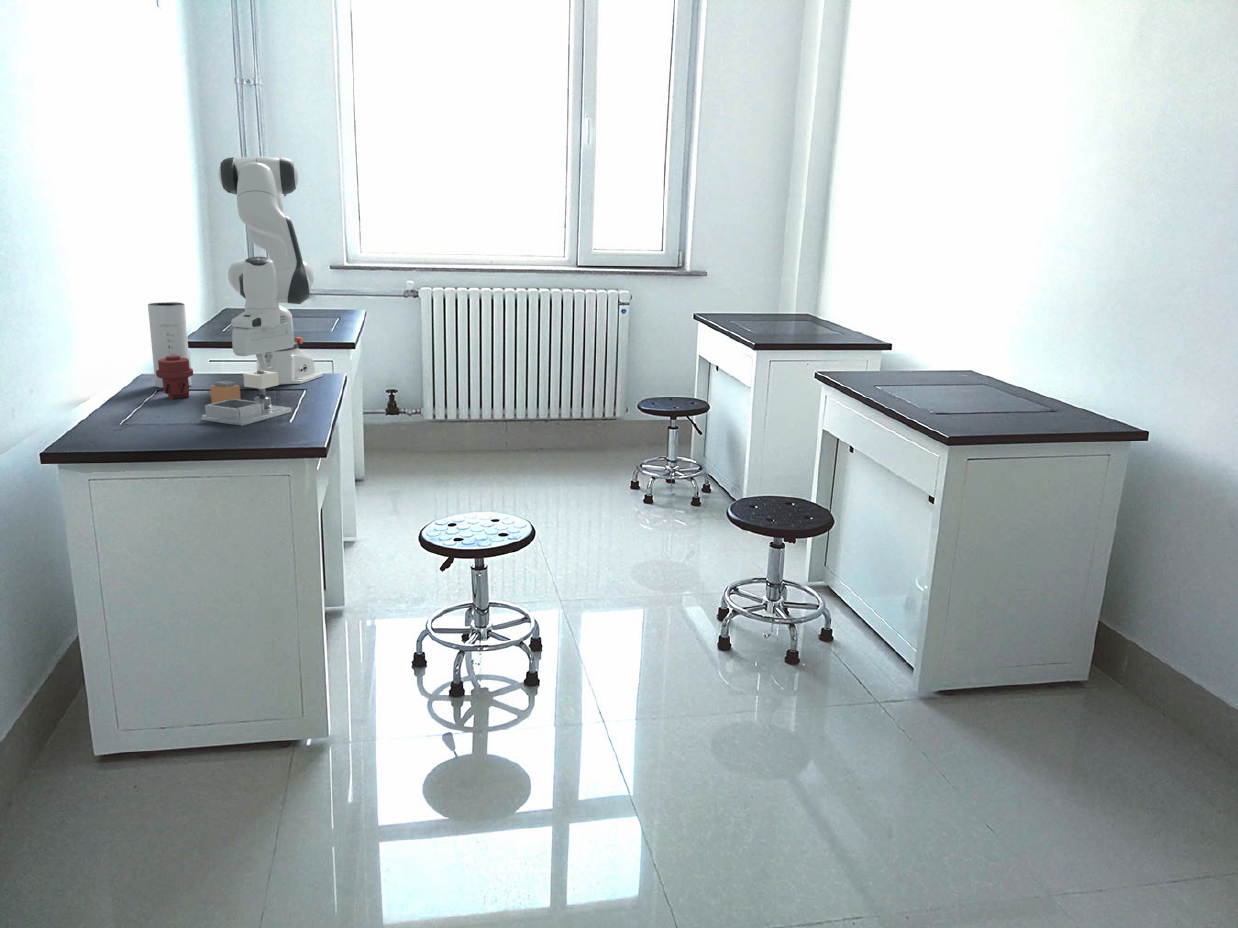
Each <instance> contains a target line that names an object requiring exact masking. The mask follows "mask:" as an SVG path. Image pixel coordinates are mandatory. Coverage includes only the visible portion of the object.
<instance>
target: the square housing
mask: <svg viewBox="0 0 1238 928" xmlns="http://www.w3.org/2000/svg"><path fill="white" fill-rule="evenodd" d="M242 375H243V387H244V388H245V387H246V388H252V389H253V388H254V389H258V388H259V389H264V388H265V389H267V388H272V387H275V386H276V387H277V386H279V385H280V384H279V383H278V372H270V371H264V374H257V370H255V371H250V372H245V373H243V374H242Z"/></svg>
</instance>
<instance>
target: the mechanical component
mask: <svg viewBox="0 0 1238 928" xmlns="http://www.w3.org/2000/svg"><path fill="white" fill-rule="evenodd" d="M189 362H190V358H189V359H187V358H180V356H179V355H170V356H166V358H163V359H160V360H158V367H159V370H157V371H156V376H157V377H159V378H162V381H163V388H162V389H163V390H162V391H163V394H165V395H168V400H177V399H185V398H189V397H190V386H189V381H188V377H190V376H191V377H192V376H193V375H194V370H193V368H191V365H189Z"/></svg>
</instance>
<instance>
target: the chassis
mask: <svg viewBox="0 0 1238 928" xmlns="http://www.w3.org/2000/svg"><path fill="white" fill-rule="evenodd" d="M256 371H257V370H256ZM257 374H264V371H263V370H259V371H257ZM257 389H258V390H257V391H258V396H255V397H254V398H253V400H247V399H241V400H240V399H229V400H225V401H220V402H216V403H212V402H211V403H208V404H205V405H204V411H205V414H201V420H202V421H208V422H214V423H221V424H228V425H235V426H241V427H243V426H247V425H251V424H253V423H257V422H262V421H264V420H268V419H271V418H275V417H279V416H282V415H285V414H289V413H292V412H293V410H292V409H293V408H292V407H290V406H289V407H288V406H281V405H273V404H272V398H271V396H268V395H266V388H264V389H259V388H257Z"/></svg>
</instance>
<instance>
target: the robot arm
mask: <svg viewBox="0 0 1238 928" xmlns="http://www.w3.org/2000/svg"><path fill="white" fill-rule="evenodd" d="M218 178H219V182H220V184H221V186H222V188H223V190H224V191H225V192H227V193H228V194H231V195H236V205H237V213H238V217H239V219H240V220H241V222H242V223H243V224H244V225H245V226H246V227H247V235H248V239H249V240H250V242H251V243H252V244H253V245H255V246H256V247H258V248H260V249H262V250H264V251H265V252H267V254H268V255H269V257H265V256H253V257H249V258H245V259H239V260H235V261H233V262H232V263H231V265H230V266H229V269H228V272H227V278H228V281H229V284H230V286H231V287H232V288H233V289H234V291H236V292H237V293H239V295H240V296H241V297H242V298H244V299H245V303H244V311H242V313H240V314H238V315H237V316H235V317H233V318H232V319H231V321H230V324H231V326H232V327H234V328H233V329H232V332H231V342H232V352H233V353H234V355H235V356H237V357H248V356H254V355H255V358H256V371H259V370H263V371H270V372H278V383H279V385H292V384H293V385H294V384H295V385H296V384H297V385H299V384H300V385H301V384H305V383H307V382H310V381H312V380H315V379H319V378H321V377H323V372H320V371H317V370H316V367H315V361H314V359H313V358H312V357H311V356H310V355H309V354H307V353H306V352H304V351H303V350H302V349H300V348H299V344H302V345H303V344H304V343H303V342H304V339H303V337H302V336H301V337H299V336H297V337H295V335H294V322H293V315H292V313H291V311H290V310H289V309H288V308H286V307H284V306H282V305H281V304H285V303H287V304H294V305H295V304H296V305H301V304H302V303H304V302H305V301H306V300H307V299H309V297H310V296H311V291H312V287H313V284H314V279H315V275H314V272H313V269H312V267H311V265H310V264H309V263H307V262H306V261H304V259H303V256H302V253H301V249H300V245H299V240H298V237H297V235H296V230H295V228H294V227H295V226H294V224H293V221H292V220H291V218H290V217H289V216H288V215H285V212H284V206H283V201H282V196H281V194H283V197H286V196H287V195H289V194H291V193H293V192H295V190H296V189H297V185H298V182H299V171H298V170H297V167H296V165H295V163H294V161H293V160H292V159H291V158H287V157H282V156H280V157H276V156H275V157H274V156H268V155H267V156H265V155H257V156H244V157H243V156H242V157H234V156H233V157H227V158H224V159H223V160H222V161H221V162H220V166H219V169H218ZM280 303H281V304H280Z"/></svg>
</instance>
